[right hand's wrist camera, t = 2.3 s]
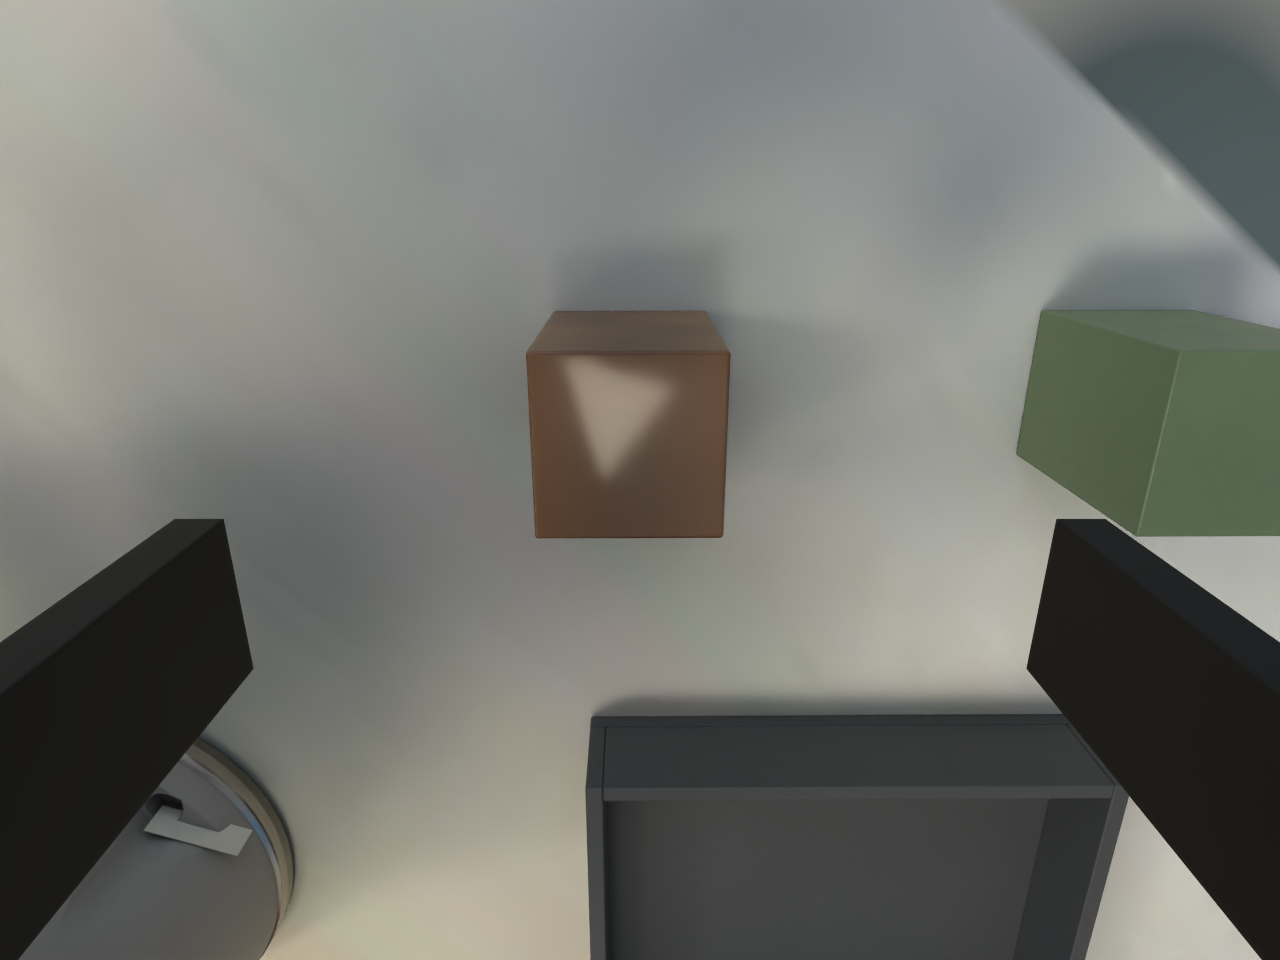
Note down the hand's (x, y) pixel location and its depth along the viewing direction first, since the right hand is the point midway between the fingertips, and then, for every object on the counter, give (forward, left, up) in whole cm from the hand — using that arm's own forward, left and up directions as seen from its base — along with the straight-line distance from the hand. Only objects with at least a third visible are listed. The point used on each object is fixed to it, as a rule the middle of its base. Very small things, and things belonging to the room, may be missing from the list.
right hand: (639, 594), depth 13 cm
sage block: (+16, 0, -15) cm, 22 cm away
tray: (+8, -31, -15) cm, 35 cm away
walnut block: (0, 0, -15) cm, 15 cm away
